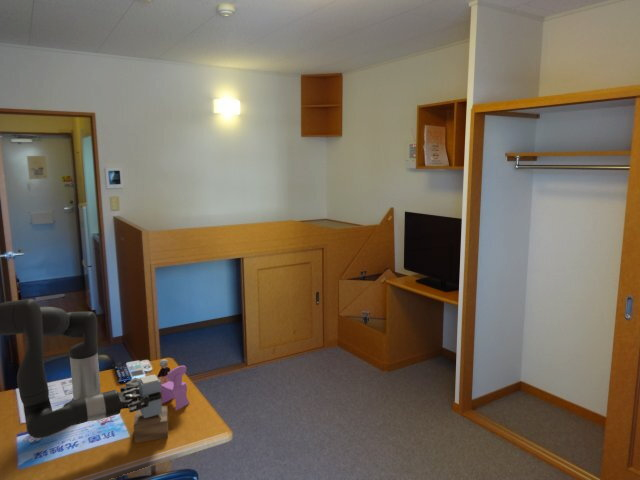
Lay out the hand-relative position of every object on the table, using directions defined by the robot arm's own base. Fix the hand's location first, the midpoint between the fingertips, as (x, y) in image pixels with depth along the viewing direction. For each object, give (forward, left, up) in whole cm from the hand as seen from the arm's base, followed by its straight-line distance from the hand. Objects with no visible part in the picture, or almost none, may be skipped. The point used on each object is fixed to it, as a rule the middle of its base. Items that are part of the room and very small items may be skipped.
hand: (157, 391), depth 157 cm
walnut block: (0, -3, -14) cm, 14 cm away
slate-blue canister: (0, -3, -6) cm, 7 cm away
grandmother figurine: (-26, +9, -14) cm, 31 cm away
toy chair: (-14, +9, -14) cm, 22 cm away
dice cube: (-29, -1, -14) cm, 32 cm away
